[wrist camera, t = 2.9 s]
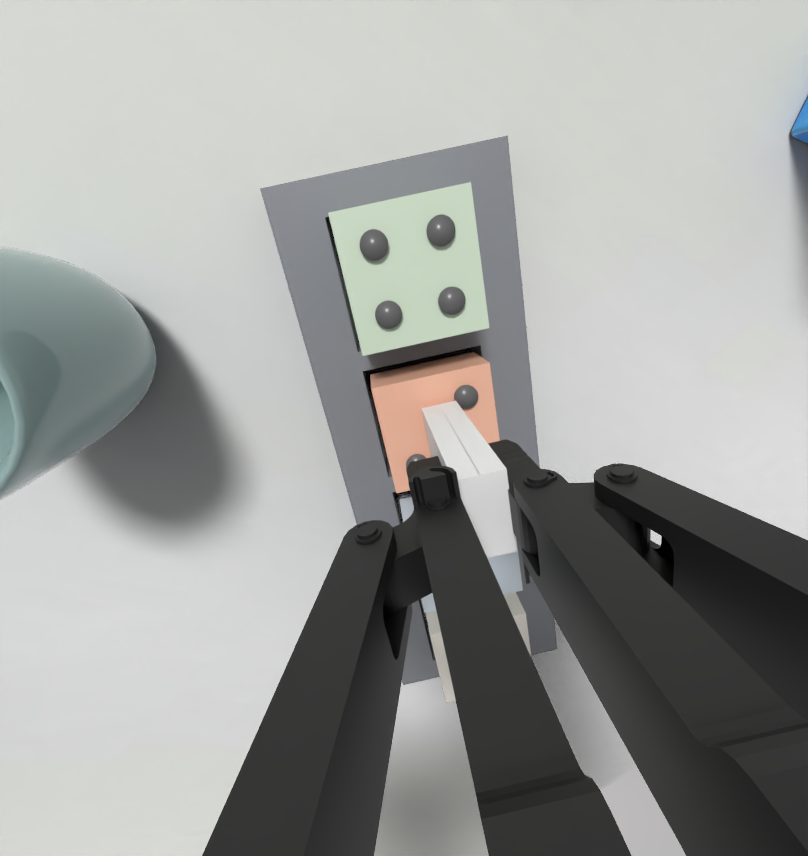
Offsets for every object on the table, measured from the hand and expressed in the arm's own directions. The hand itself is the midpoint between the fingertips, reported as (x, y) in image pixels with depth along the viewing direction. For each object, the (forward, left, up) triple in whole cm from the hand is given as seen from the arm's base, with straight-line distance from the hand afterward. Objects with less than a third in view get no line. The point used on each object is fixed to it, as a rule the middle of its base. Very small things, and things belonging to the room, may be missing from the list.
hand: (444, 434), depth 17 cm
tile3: (0, 0, -3) cm, 3 cm away
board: (0, -3, -5) cm, 6 cm away
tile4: (0, +7, -3) cm, 7 cm away
